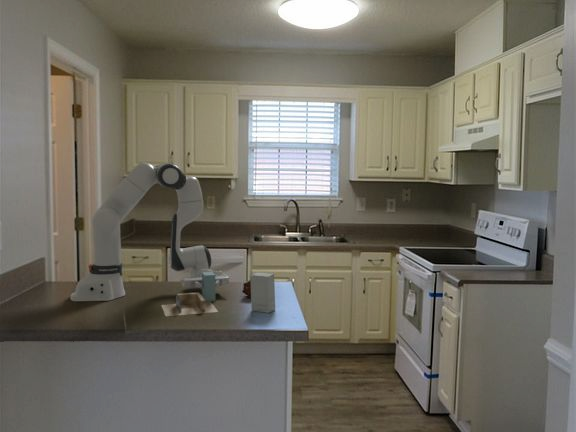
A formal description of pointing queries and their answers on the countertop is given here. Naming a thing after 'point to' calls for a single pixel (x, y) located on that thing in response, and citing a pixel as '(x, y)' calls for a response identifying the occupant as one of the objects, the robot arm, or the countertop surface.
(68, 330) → the countertop surface
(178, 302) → the metal bookend
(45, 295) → the countertop surface
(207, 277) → the book
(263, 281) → the skincare box
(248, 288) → the dragon fruit
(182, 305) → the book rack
